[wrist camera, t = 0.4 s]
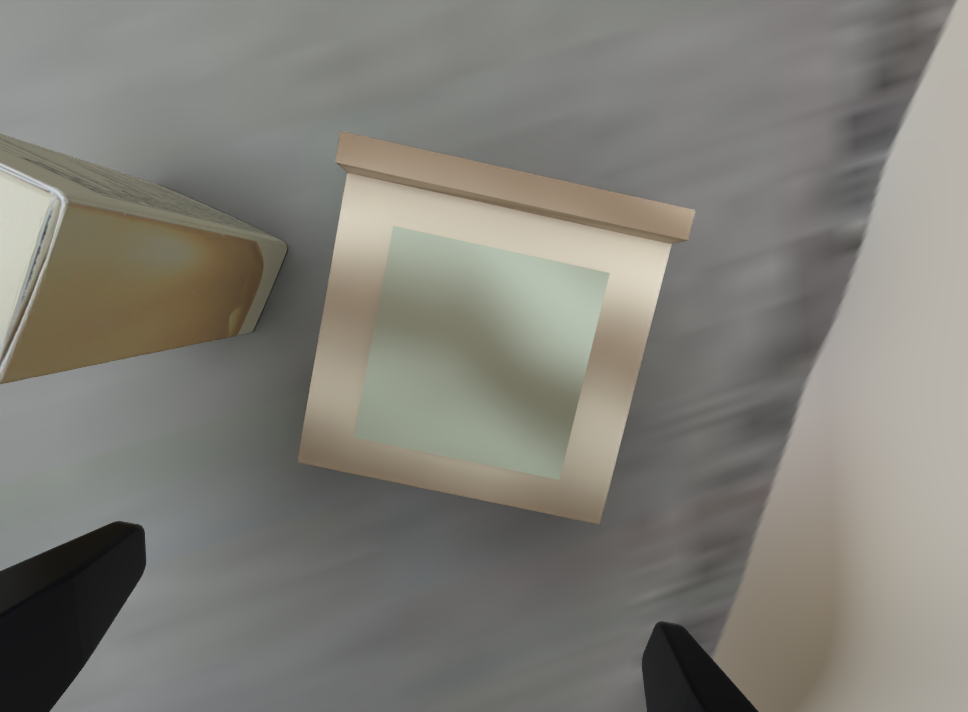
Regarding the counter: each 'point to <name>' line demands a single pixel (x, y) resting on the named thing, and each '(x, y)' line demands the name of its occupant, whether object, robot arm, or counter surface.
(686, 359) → the counter surface
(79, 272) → the skincare box
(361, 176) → the stand
